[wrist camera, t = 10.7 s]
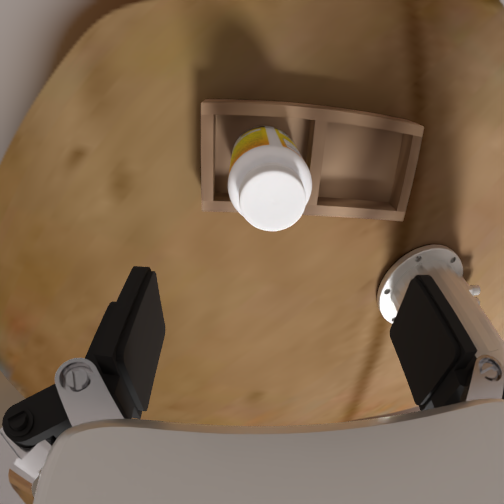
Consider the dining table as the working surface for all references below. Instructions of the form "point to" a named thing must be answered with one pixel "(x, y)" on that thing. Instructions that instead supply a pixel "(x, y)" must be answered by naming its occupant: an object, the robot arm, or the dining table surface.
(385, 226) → the dining table surface
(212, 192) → the divided well tray
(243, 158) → the supplement bottle
